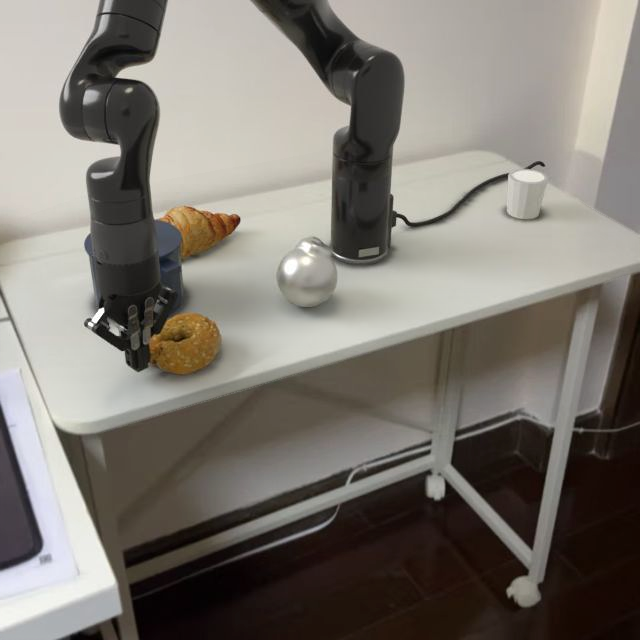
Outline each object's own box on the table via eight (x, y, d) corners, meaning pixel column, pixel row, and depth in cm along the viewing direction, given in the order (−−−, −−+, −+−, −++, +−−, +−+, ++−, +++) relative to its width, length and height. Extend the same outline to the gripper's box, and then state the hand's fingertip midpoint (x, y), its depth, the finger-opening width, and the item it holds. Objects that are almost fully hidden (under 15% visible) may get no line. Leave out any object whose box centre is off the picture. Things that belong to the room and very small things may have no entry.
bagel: (144, 335, 120) (141, 306, 118) (224, 335, 120) (222, 305, 118) (134, 378, 112) (130, 347, 109) (220, 377, 112) (218, 347, 110)
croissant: (130, 288, 137) (134, 259, 131) (105, 239, 141) (108, 209, 135) (248, 252, 147) (257, 223, 140) (222, 208, 151) (229, 178, 144)
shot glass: (547, 210, 156) (554, 173, 152) (534, 224, 151) (540, 186, 147) (511, 201, 159) (517, 165, 155) (497, 214, 154) (502, 177, 150)
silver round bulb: (352, 304, 128) (354, 243, 123) (301, 325, 123) (301, 263, 117) (314, 279, 134) (314, 221, 128) (264, 299, 129) (262, 238, 123)
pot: (138, 264, 137) (132, 209, 132) (213, 306, 127) (209, 248, 122) (69, 293, 129) (59, 236, 124) (142, 340, 119) (135, 280, 114)
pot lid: (143, 216, 131) (140, 185, 129) (202, 246, 124) (200, 213, 121) (66, 246, 123) (60, 213, 120) (123, 280, 115) (119, 245, 113)
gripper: (151, 220, 108) (161, 336, 117) (58, 254, 100) (77, 377, 109) (189, 239, 104) (197, 358, 113) (96, 277, 96) (113, 402, 105)
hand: (138, 367), depth 111 cm, fingers closed
